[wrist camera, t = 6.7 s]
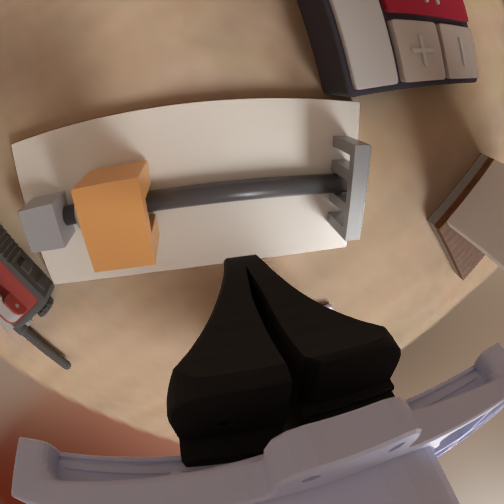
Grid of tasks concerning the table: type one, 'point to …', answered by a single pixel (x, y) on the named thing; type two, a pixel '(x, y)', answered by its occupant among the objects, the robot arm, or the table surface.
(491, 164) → the white box tower
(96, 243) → the orange block
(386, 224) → the table surface
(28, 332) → the walkie-talkie
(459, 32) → the calculator
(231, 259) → the robot arm
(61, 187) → the board
